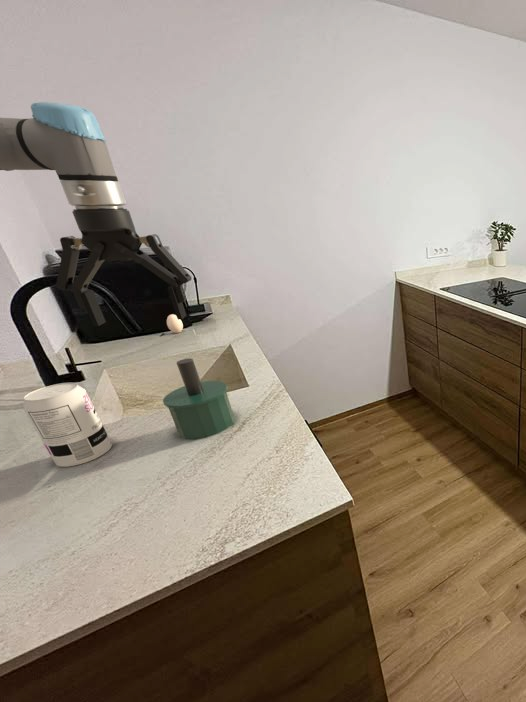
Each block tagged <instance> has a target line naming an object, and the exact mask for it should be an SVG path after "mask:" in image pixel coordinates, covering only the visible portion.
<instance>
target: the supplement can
mask: <svg viewBox="0 0 526 702" xmlns="http://www.w3.org/2000/svg"><path fill="white" fill-rule="evenodd" d="M23 400H24V401H23V404H22V409H23V410H24V412H25V414H26V416H27V418H28V419H29V421H30V422H31V425H32V426H33V428H34V429H35V431H36V433H37V435H38V437H39V438H40V439H41V441H42V443H43V445H44V446H45V449H46V450H47V452H48V454H49V455H50V457H51V459H52V461H53V462H54V464H55V465H56V466H57V467H61V468H63V467H64V468H66V467H67V468H68V467H74V466H79V465H84V464H86V463H89V462H91V461H94V460H96V459H98V458H100V457H102V456H103V455H104V454H106V453H107V452H109V451H110V449H111V448H112V446H113V444H112V440H111V439H110V437H109V435H108V433H107V431H106V429H105V427H104V425H103V423H102V421H101V419H100V416H99V415H98V412H97V410H96V408H95V406H94V404H93V403H92V400H91V398H90V396H89V394H88V392H87V391H86V389H85V388H84V387H82V386H80V385H79V384H78V383H76V382H61V383H55V384H52V385H51V384H50V385H47V386H44V387H40V388H38V389H35V390H33V391H31V392H29V393H27V394H25V395H24V397H23Z"/></svg>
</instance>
